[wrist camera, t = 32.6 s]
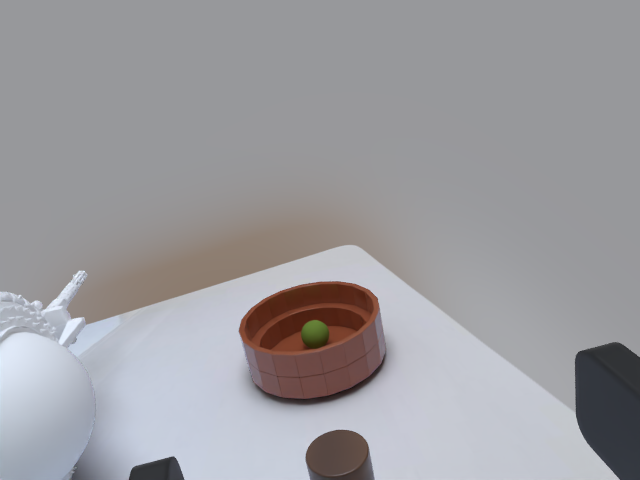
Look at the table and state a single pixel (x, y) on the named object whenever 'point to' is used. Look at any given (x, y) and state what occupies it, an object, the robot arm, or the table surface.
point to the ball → (315, 334)
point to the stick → (339, 457)
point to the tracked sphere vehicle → (42, 388)
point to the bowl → (306, 363)
